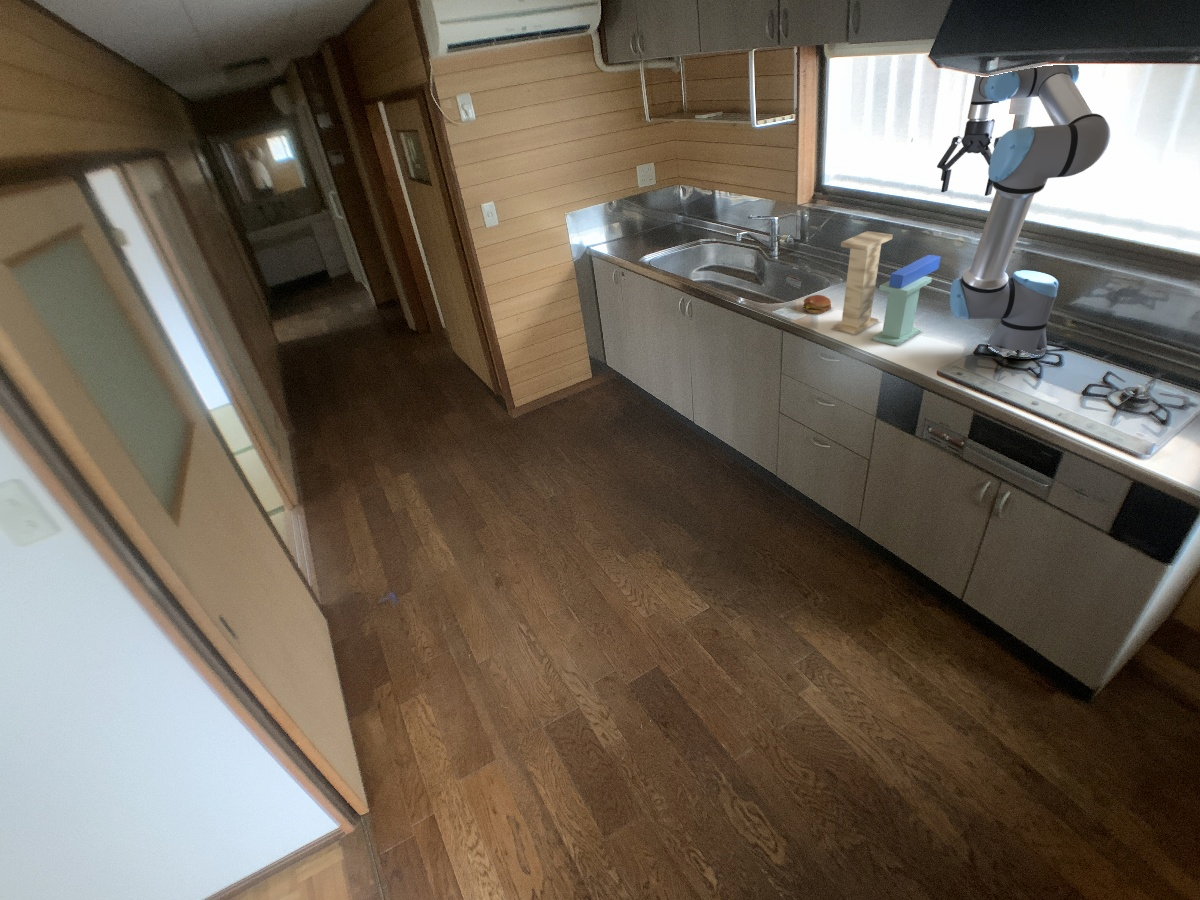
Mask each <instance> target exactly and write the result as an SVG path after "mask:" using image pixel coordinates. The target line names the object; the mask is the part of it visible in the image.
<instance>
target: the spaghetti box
mask: <svg viewBox="0 0 1200 900" xmlns="http://www.w3.org/2000/svg"><path fill="white" fill-rule="evenodd" d="M941 258H942V256H940V255H934V254H928V255H925V256H923V257H921V258H919V259H917V260H915V261H913V262H911V263H908V264H907V265H905V266H904V267H901V268H899V269H897V270H895V271H892V272H891V273H890V276H889V277H890V278H889V281H890V283H889V286H891V287H896V288H903V287H905V286H907V285H908V284H910V283H912V282H914V281H916V280H918V279H920V278H922V277H924V276H927V275H929V274H931V273H933V272H935V271H937V270H939V268H940V263H941Z"/></svg>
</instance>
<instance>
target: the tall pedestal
mask: <svg viewBox="0 0 1200 900" xmlns="http://www.w3.org/2000/svg"><path fill="white" fill-rule="evenodd" d="M893 237H894V234H892V233H884V232H878V231H870V230H867V231H864V232H861V233H859V234H856V235H854V236H852V237H850V238H847V239H844V240H843V241H841V242H840V247H841V248H845V249H846V248H847V249H849V250H850V251H849V257H848V267H847V274H846V275H847V276H846V283H845V290H844V291H845V292H844V302H843V307H842V317H841V321H840V322H838V323H836V324H834V325H833V326H832V329H833V330H835V331H839V332H842V333H846V334H850V335H854V336H855V335H858V334H859V333H861V332H863V331H865V330H866V329H868V328H870V327H872V326H874V325H876V324H877V323H878V322H879V319H878V318H876V317H872V311H873V304H874V298H875V297H874V296H875V291H876V284H877V276H878V271H879V263H880V256H881V249H882V244H885V243H887V242H889V241H892V240H893Z"/></svg>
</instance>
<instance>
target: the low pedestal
mask: <svg viewBox="0 0 1200 900" xmlns="http://www.w3.org/2000/svg"><path fill="white" fill-rule="evenodd" d="M932 280H933V277H931V276H927V275H925V276H924V277H922V278H920V279H918V280H916V281H914V282H912V283H910V284H908V285H907V286H905V287H903V288H896V287H891V286H889V283H890V280H888V281H886V282H883V283H882V284H880V285H879V287H878V290H879V291H882V292H886V293H888V295H887V301H886V302H887V303H886V306H885V314H884V320H883V327H882V331H881V332H879V333H877V334H875V335H874V336H873V338H872V340H873V341H877V342H880V343H884V344H888V345H892V346H896V347H899V346H900V345H902V344H903V343H905V342H906V341H908V340H910V339H911V338H913V337H914V336H917V335H918V334H919V333H920V332H921V328H917V327H914V324H915V318H916V312H917V307H918V301H919V296H920V290H921V288H924V287H925V286H927V285H928V284H931V283H932Z"/></svg>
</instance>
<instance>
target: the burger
mask: <svg viewBox="0 0 1200 900" xmlns="http://www.w3.org/2000/svg"><path fill="white" fill-rule="evenodd" d="M831 302H832V301H831V300H830V298H829V297H828V296H825V295H821V294H814V295H810V296H807V297H806V298H804V299H803V307H802V308H803V309H804V310H805V311H806V312H808V314H813V315H814V314H815V315H820V314H824V313H826V312H828V311H829V310H831V308H832V303H831Z"/></svg>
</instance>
